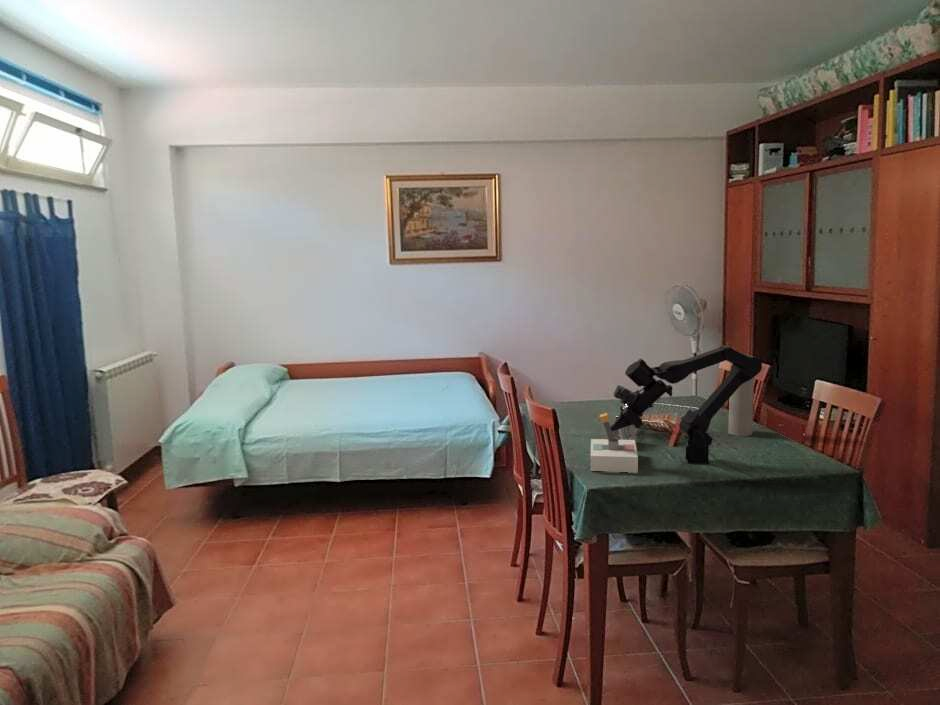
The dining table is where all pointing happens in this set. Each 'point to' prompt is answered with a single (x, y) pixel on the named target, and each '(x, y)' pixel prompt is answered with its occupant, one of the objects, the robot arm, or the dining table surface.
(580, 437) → the dining table surface
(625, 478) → the dining table surface
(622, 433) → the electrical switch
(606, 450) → the breaker housing
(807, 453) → the dining table surface
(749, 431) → the thermos bottle
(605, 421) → the breaker lever
